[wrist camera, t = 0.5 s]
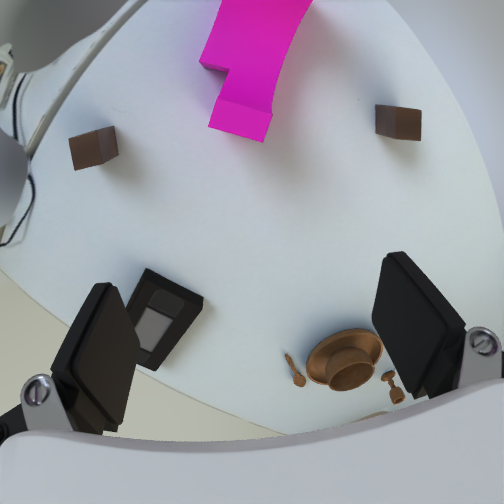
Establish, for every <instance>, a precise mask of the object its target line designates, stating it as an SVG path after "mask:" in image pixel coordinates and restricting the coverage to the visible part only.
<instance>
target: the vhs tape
mask: <svg viewBox="0 0 504 504" xmlns="http://www.w3.org/2000/svg"><path fill="white" fill-rule="evenodd" d="M154 274H155V275H154ZM202 308H203V297H202V296H200V295H198V294H196V293H194V292H192V291H190V290H188V289H186V288H184V287H182V286H180V285H178V284H176V283H174V282H172V281H170V280H168V279H166V278H164V277H162V276H161V275H159V274H157V273H155V272H153V271H151V270H149V269H147V268H146V269H145V271H144V273H143V274H142V276H141V278H140V280H139V282H138V284H137V286H136V288H135V290H134V292H133V294H132V296H131V298H130V300H129V302H128V304H127V306H126V311H127V313H128V315H129V318H130V320H131V322H132V325H133V327H134V329H135V331H136V333H137V336H138V338H139V340H140V352H139V356H138V359H137V363H136V364H138V365H141V366H143V367H145V368H148V369H150V370H152V371H156V370H157V369H158V368H159V366H160V365H161V364H162V362H163V361H164V360H165V358H166V357H167V356H168V354H169V353H170V352H171V350H172V349H173V348H174V346H175V345H176V344H177V342H178V341H179V340H180V338H181V337H182V336H183V334H184V333H185V332H186V330H187V329H188V328H189V326H190V325H191V324H192V322H193V321H194V320H195V318H196V317H197V316H198V314H199V313H200V312H201V310H202Z"/></svg>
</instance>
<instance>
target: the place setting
mask: <svg viewBox="0 0 504 504" xmlns="http://www.w3.org/2000/svg"><path fill="white" fill-rule="evenodd" d="M382 351H383V344H382V342H381V340H380V338H379V337H378V336H377V335H376V334H375V333H373V332H371V331H369V330H365V329H350V330H345V331H341V332H339V333H336V334H334V335H332V336H330V337H328V338H326V339H325V340H323V341H322V342H321V343H319V344H318V345H317V346H316V347H315V348H314V349H313V350H312V352H311V353H310V355H309V357H308V359H307V362H306V372H307V375H308V377H309V378H310V379H311V380H312V381H314V382H316V383H318V384H322V385H329V387H330V388H331V389H332V390H335V391H348V390H352V389H354V388H357V387H359V386H361V385H362V384H364V383H365V382H367V381H368V380H369V379H370V378H371V376H372V375H373V373H374V370H375V367H374V365H375V364H376V363H377V361H378V360H379V358H380V357H381V354H382ZM285 357H286V360H287V362H288V364H289V365H290V367H291V369H292V371H293V372H294V375H295V376H294V380H293V381H294V384H295V385H297V386H299V387H304V385H305V383H306V379H305V378H304V377H303V376H302V375H299V374H298V373H297V371H296V369H295V367H294V365H293V362H292V360H291V358H290V357H289V355H288V354H285ZM394 376H395V372H394V371H390V372H388V373H386V374H384V375H383V376H382V378H381V380H382V381H388V384H389V385H390V386H391V390H390V398H391V400H392V402H393V404H399V403H401V402H402V401H403V400H404V399H405V395H404V393H403V391H402V389H401V388H400V387H395V385H394V381H393V380H392V378H393V377H394Z"/></svg>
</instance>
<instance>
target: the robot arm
mask: <svg viewBox="0 0 504 504" xmlns="http://www.w3.org/2000/svg"><path fill="white" fill-rule="evenodd" d="M372 323H373V325H374V327H375V329H376V331H377V333H378V335H379V337H380V338H381V340H382V342H383V344H384V346H385V348H386V350H387V352H388V354H389V356H390V358H391V360H392V362H393V364H394V366H395V368H396V370H397V372H398V374H399V376H400V378H401V380H402V383H403V385H404V387H405V389H406V391H407V392H408V393H411V394H412V396H413V398H414V400H415V399H417V398H420V397H423V396H426V395H428V397H429V400H426V401H424V402H421V403H418V404H415V405H412V406H409V407H406V408H403V409H400V410H397V411H394V412H390V413H387V414H384V415H381V416H377V417H373V418H370V419H366V420H362V421H359V422H354V423H350V424H346V425H341V426H337V427H332V428H327V429H322V430H317V431H311V432H305V433H299V434H293V435H286V436H279V437H270V438H260V439H250V440H235V441H212V442H176V441H175V442H174V441H154V440H140V439H130V438H120V437H110V436H103V435H102V434H103V430H104V431H112V432H117V429H118V425H121V424H122V422H123V418H124V413H125V409H126V404H127V400H128V396H129V391H130V387H131V383H132V379H133V375H134V371H135V367H136V363H137V359H138V356H139V352H140V340H139V338H138V336H137V333H136V331H135V329H134V327H133V325H132V322H131V320H130V318H129V315H128V313H127V311H126V308H125V306H124V303H123V301H122V298H121V296H120V293H119V291H118V289H117V287H116V286H113V285H112V284H111V283H110V282H107V283H96V284H95V285H94V286H93V288H92V289H91V291H90V293H89V295H88V296H87V298H86V300H85V302H84V303H83V305H82V307H81V309H80V311H79V312H78V314H77V316H76V318H75V320H74V322H73V324H72V325H71V327H70V329H69V331H68V333H67V335H66V337H65V339H64V341H63V343H62V345H61V347H60V349H59V351H58V353H57V355H56V357H55V360H54V362H53V364H52V366H51V368H50V369H51V371H52V372H53V373H52V376H51V377H50V376H49V375H46V374H38V375H35V376H33V377H31V378H30V379H29V380H28V381H27V382H26V383H25V384H24V386H23V388H22V390H21V394H20V397H21V404H19V405H17V406H16V407H15V408H13V409H11V410H10V411H8V412H7V413H5V414H4V415H2V416H0V504H504V352H503V351H502V347H501V342H500V340H499V338H498V337H497V336H496V335H495V333H493V332H492V331H491V330H489V329H487V328H484V327H473V328H471V329H469V330H468V332H467V331H466V330H465V329H464V327H465V325H466V323H465V322H464V321H463V319H462V318H461V317H460V316H459V314H458V313H457V312H456V311H455V309H454V308H453V307H452V306H451V304H450V303H449V302H448V301H447V300H446V298H445V297H444V296H443V295H442V294H441V292H440V291H439V290H438V289H437V288H436V286H435V285H434V284H433V283H432V282H431V281H430V280H429V278H428V277H427V276H426V275H425V274H424V273H423V272H422V271H421V269H420V268H419V267H418V266H417V265H416V264H415V263H414V262H413V261H412V260H411V258H410V257H409V256H408V255H407V254H406V253H405V252H403V251H400V252H392V253H388V254H387V256H386V257H385V258H384V259H383V261H382V266H381V272H380V278H379V283H378V288H377V293H376V298H375V302H374V307H373V311H372Z"/></svg>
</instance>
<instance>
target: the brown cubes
mask: <svg viewBox="0 0 504 504" xmlns="http://www.w3.org/2000/svg"><path fill="white" fill-rule="evenodd" d="M375 111H376V134H380V135H383V136H387V137H390V138H393V139H399V140H412V141H421V118H422V111H421V110H418V109H411V108H404V107H395V106H386V105H375ZM69 145H70V150H71V156H72V161H73V165H74V170H75V171H76V170H80V169H84V168H88V167H92V166H96V165H100V164H103V163H105V162H107V161H109V160H110V159H112V158H114V157H116V156H118V155H119V154H118V148H117V142H116V136H115V129H114V126H110V127H106V128H102V129H99V130H95V131H92V132H88V133H85V134H81V135H78V136H75V137H72V138H69Z"/></svg>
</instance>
